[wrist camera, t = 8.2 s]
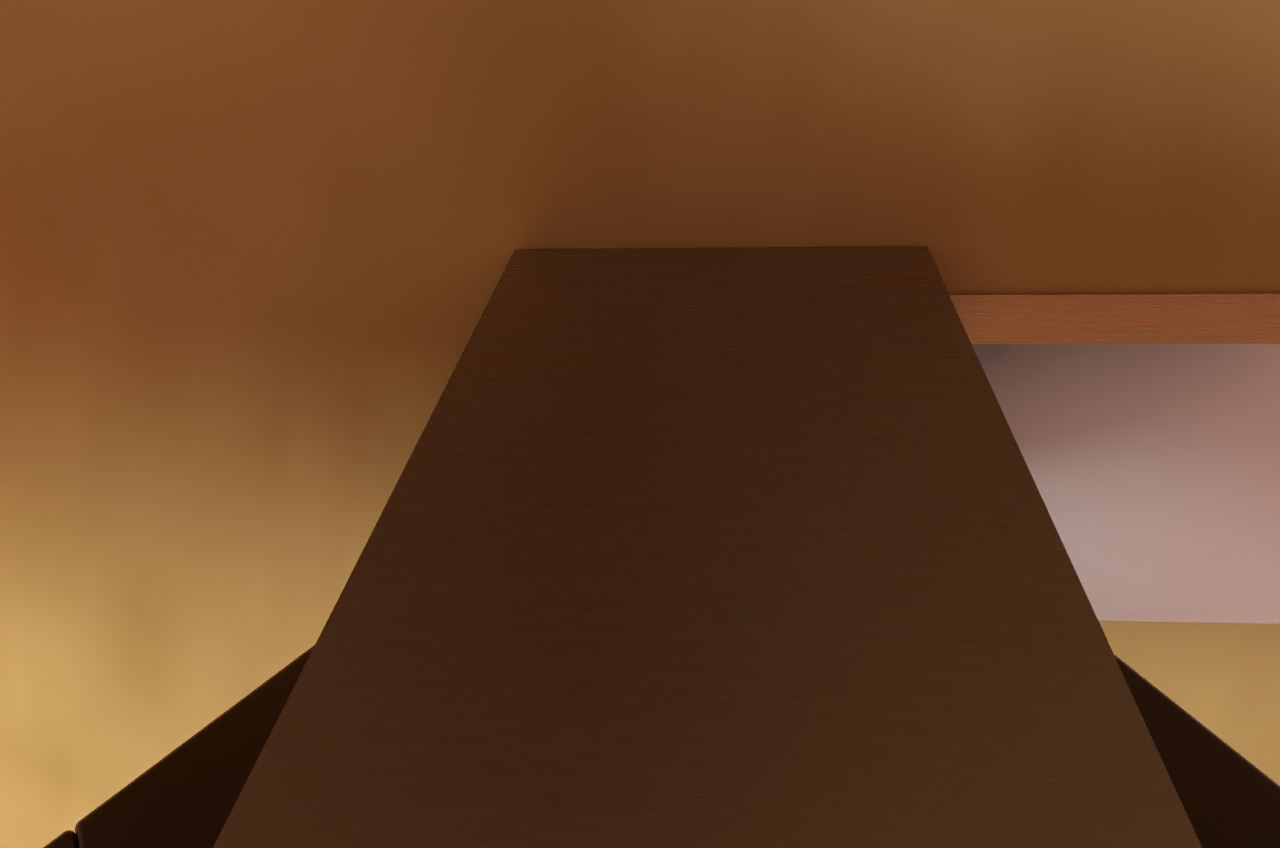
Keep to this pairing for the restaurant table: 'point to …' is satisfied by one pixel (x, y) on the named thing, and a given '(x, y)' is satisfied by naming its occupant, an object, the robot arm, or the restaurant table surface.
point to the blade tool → (786, 564)
